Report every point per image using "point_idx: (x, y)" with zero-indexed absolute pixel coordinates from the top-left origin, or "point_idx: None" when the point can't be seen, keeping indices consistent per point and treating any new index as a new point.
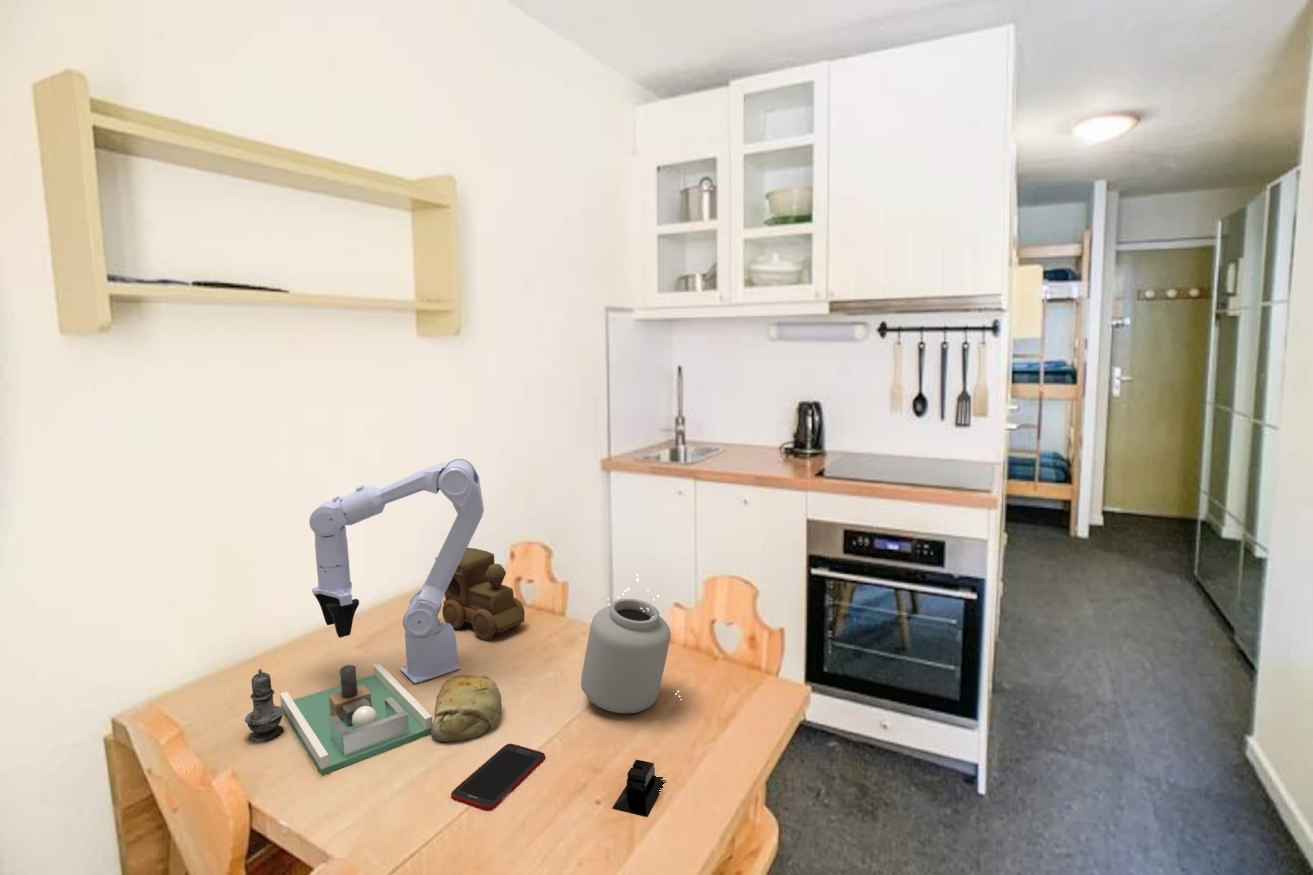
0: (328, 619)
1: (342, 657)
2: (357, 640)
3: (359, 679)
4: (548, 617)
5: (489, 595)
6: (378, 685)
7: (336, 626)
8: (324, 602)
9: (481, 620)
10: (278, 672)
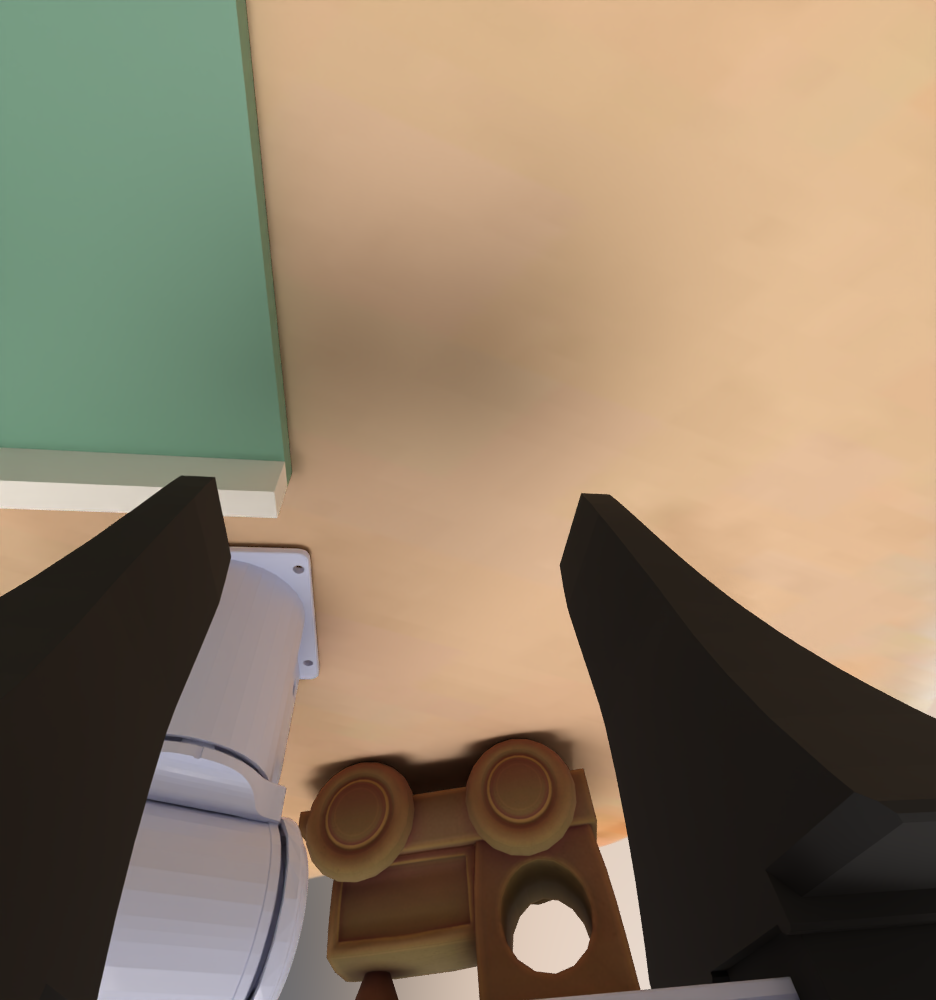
0: (592, 541)
1: (643, 429)
2: (737, 529)
3: (277, 394)
4: None
5: (347, 953)
6: (141, 435)
7: (74, 550)
8: (697, 703)
9: (347, 835)
10: (824, 70)
